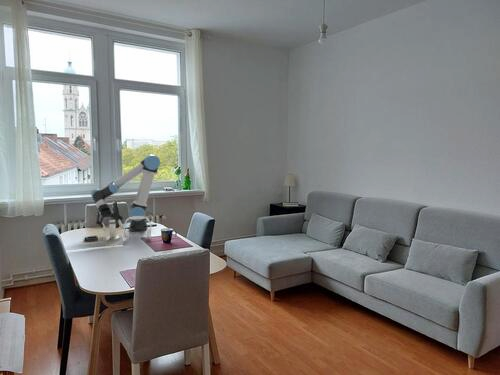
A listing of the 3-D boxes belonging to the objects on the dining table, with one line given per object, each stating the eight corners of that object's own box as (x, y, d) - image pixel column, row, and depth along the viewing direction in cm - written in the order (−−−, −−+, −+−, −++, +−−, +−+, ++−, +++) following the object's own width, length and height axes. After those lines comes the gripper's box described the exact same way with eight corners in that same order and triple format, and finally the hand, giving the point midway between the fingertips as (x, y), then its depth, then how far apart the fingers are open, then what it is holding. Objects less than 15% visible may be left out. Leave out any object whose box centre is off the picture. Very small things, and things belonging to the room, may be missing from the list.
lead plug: (115, 236, 266) (115, 219, 265) (116, 237, 262) (115, 220, 261) (109, 237, 264) (108, 220, 263) (109, 238, 260) (109, 221, 259)
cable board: (120, 237, 270) (120, 232, 270) (122, 240, 261) (121, 235, 261) (83, 241, 259) (83, 236, 259) (83, 244, 250) (83, 239, 250)
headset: (151, 237, 269) (151, 214, 267) (151, 240, 262) (151, 216, 260) (124, 239, 264) (123, 216, 262) (123, 242, 257) (122, 217, 255)
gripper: (116, 207, 280) (127, 228, 272) (85, 212, 261) (96, 235, 253) (119, 201, 276) (130, 223, 268) (88, 205, 257) (99, 228, 249)
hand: (114, 228), depth 261 cm, fingers open, 13 cm apart
